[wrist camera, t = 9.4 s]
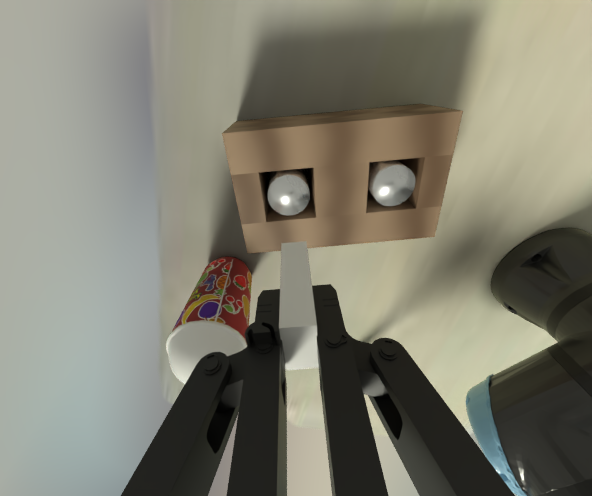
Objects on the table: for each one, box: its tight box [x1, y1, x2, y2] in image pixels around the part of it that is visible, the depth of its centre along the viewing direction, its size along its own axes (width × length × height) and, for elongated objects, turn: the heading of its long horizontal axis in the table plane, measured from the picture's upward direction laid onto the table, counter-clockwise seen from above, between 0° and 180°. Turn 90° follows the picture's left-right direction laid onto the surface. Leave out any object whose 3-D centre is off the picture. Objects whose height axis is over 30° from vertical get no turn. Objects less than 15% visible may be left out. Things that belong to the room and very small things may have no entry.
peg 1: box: [268, 168, 310, 215], centre depth 29 cm, size 4×4×8 cm
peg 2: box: [368, 160, 415, 206], centre depth 29 cm, size 4×4×8 cm
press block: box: [222, 104, 463, 253], centre depth 29 cm, size 20×12×8 cm, turn 95°
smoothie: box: [166, 257, 252, 384], centre depth 31 cm, size 8×8×20 cm
